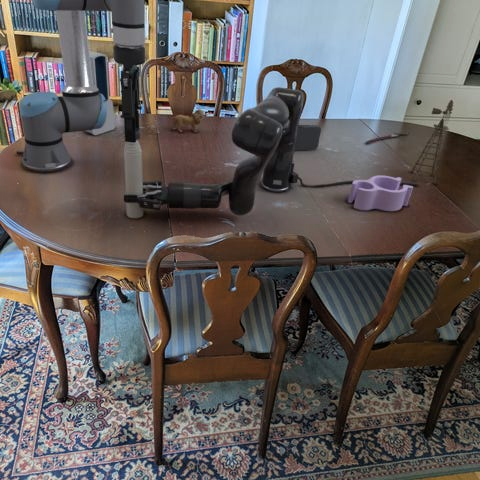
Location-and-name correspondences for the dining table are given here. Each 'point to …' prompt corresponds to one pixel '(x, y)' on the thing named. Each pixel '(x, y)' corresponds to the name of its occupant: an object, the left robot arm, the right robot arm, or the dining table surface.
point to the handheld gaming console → (307, 137)
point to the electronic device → (102, 89)
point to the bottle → (133, 176)
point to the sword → (384, 137)
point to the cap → (137, 133)
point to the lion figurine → (189, 120)
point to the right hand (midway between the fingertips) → (125, 194)
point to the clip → (379, 193)
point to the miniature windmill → (438, 128)
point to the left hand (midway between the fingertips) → (132, 137)
